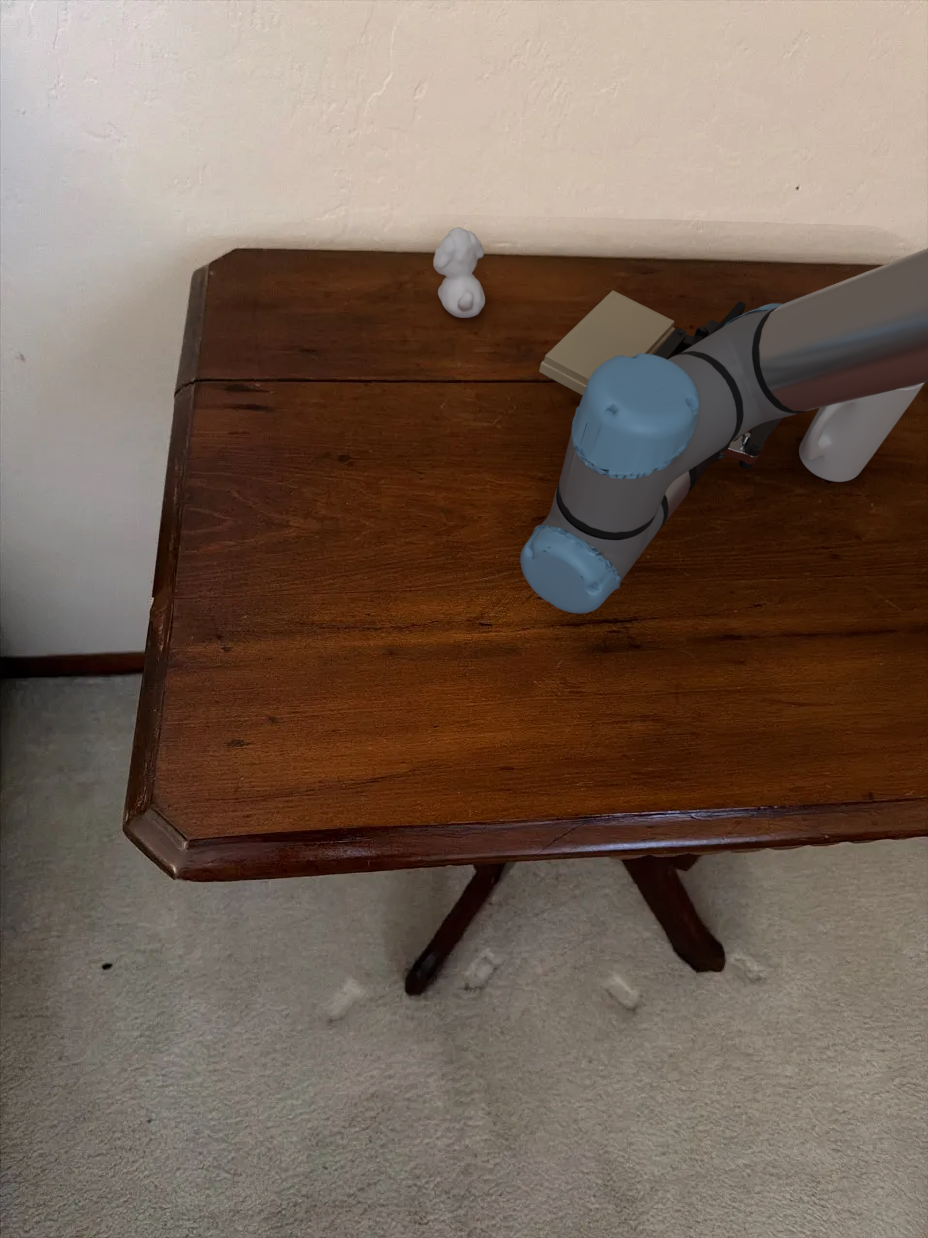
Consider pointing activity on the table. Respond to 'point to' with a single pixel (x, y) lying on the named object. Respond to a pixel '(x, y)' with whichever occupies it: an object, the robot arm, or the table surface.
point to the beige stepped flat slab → (605, 340)
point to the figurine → (460, 273)
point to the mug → (852, 433)
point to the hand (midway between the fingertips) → (765, 327)
